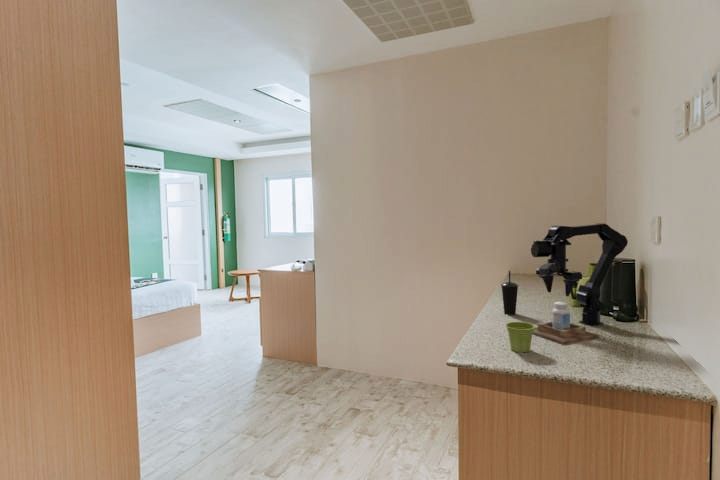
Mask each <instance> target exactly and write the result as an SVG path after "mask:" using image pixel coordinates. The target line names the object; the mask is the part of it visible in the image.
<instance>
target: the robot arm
mask: <svg viewBox="0 0 720 480" xmlns="http://www.w3.org/2000/svg"><path fill="white" fill-rule="evenodd" d="M595 234H597V236H598V238H599V239H600V240H601V241H602V246H601V247H602V253H601V255H600V257H599V259H598V261H597V263H596V265H595V267H594V269H593V270H592V273H591V275H590V277H589V279H588V281H587V282H586V283H585V284H584V285H583V284H580V285H579V286H578V289H577V291H576V292H575V294H576V295H575V300H576V302H577V303H579V304H578V305H579V307H580V308H582V313H581V314H582V316H581V317H582V318H581V320H580V321H579V323H581V324H585V325H587V326H592V327H593V326H599V325H605V323H604V322H602V321H601V312H602V311H603V312H604V310H605V307H606V305H605V304H604V303H603V302H602V301H601V300H600V298H601V287H602V285H603V283H604V281H605V278H606V277H607V275H608V273H609V271H610V269H611V267H612V264H613V263H614V261H615V258H616V257H618V256H619V254H621V253H623V251H624V250H625V249H626V247H627V246H628V243H629V241H628V238H627V237H626V235H623V234H621V233H620V232H619V231H617V230H616V229H614V228H612V227H611V226H610V225H608V224H607V223H605V222H604V223H603V222H601V223H597V222H596V224H595V223H593V224H585V225H576V226H566V225H551V226H550V227H549V229H548V232H547V233H546V235H545V236H544V238H543V239H542V240H533V243H532V245H531V248H530V253H531V256H532V257H533V258H548V259H547V263H544V264H542V265H541V266H539V267H537V268H536V270H535V274H536V275H537V276H538V277H539V278H541V279H542V281H543V282H544V285H545V288H546V290H547V293H552V288H553V283H554V276H559V277H563V279H562V281H563V282H564V285H565V287H564V288H565V289H564V290H565V296H566V297H569V296H570V294H571V293H572V291H573V289H574V287H575V285H576V284H577V283H578V282H580V280H583V273H582V272H581V271H575V270H571V271H570V270H569V269H568V268H567V262H569V258H567V246H571V245H572V243H571V242H570V241H569V240H568V239H572V238H574V237H577V236H583V235H584V236H586V235H595Z"/></svg>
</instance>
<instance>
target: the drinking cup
mask: <svg viewBox="0 0 720 480" xmlns="http://www.w3.org/2000/svg"><path fill="white" fill-rule="evenodd" d="M500 286H501V294H502V302H503V313H504V315H506V314H507V316H515V315H516V313H517V312H516V311H517V301H518V300H517V299H518V289H519V283H516V282H513V281H511V270H508V281H506V282H503V283H501V284H500Z"/></svg>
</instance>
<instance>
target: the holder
mask: <svg viewBox="0 0 720 480" xmlns="http://www.w3.org/2000/svg"><path fill="white" fill-rule="evenodd" d="M532 335H534V336H537V337H540V338H543V339H545V340H548V341H551V342H554V343H557V344H559V345H567V344H568V345H569V344H574V343H578V342H584V341H590V340H595V339H599V338H600V334H596V333H594V332H590V331H587V329H586V327H585V326H582V325H578V324H575V323H571V322H570V329H567V330H559V329H556V328H553V322H552V321H548V322H542V323H537V326H535V328H534V331H533V333H532Z"/></svg>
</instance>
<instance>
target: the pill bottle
mask: <svg viewBox="0 0 720 480" xmlns="http://www.w3.org/2000/svg"><path fill="white" fill-rule="evenodd" d="M553 306H554V308H553V309H552V317H551V319H552V320H551V322H553V328H556V329H559V330H567V329H570V323H571V312H570V309H568V306H569V304H568V303H567V302H565V301H555V302H554V304H553Z"/></svg>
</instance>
